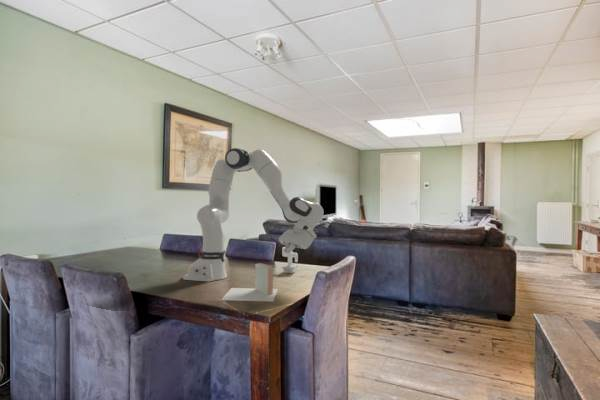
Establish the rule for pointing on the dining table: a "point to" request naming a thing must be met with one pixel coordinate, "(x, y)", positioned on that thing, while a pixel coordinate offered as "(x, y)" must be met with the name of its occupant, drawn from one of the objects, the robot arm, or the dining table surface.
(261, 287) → the tile
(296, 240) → the robot arm
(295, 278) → the dining table surface
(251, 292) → the mat
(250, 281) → the dining table surface
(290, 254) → the figurine
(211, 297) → the dining table surface
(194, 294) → the dining table surface
